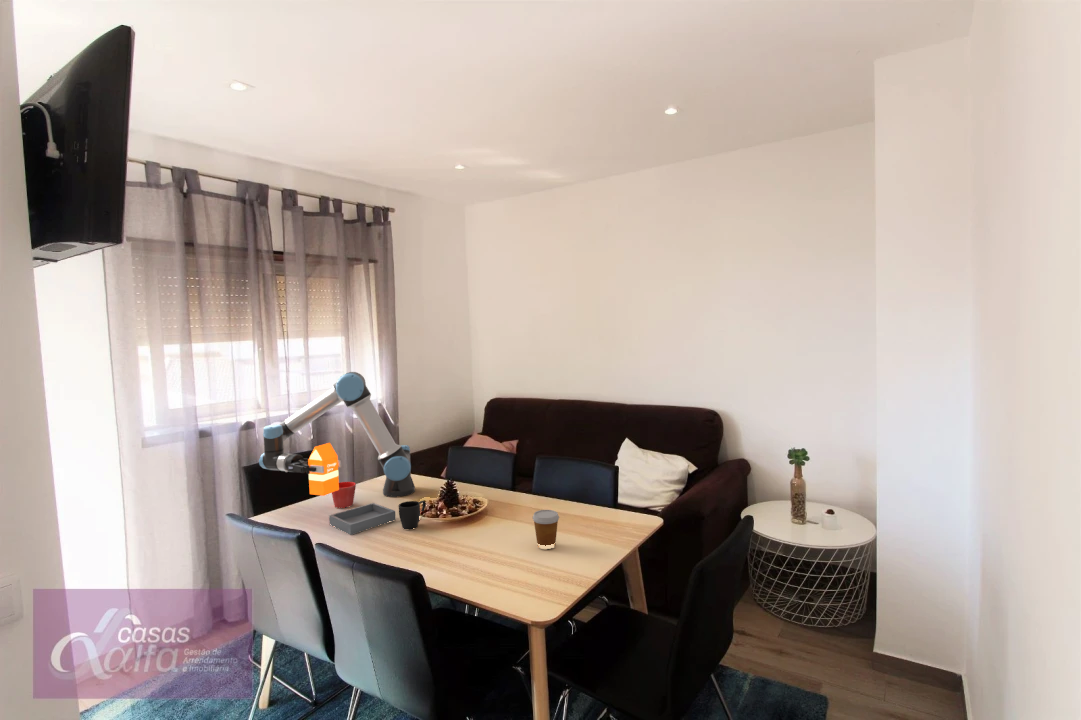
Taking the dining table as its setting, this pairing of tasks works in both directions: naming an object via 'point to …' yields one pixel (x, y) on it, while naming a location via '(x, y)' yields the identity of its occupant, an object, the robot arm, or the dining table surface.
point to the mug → (410, 513)
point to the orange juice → (329, 478)
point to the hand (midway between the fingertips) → (332, 466)
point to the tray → (361, 518)
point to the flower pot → (344, 495)
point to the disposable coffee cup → (546, 526)
